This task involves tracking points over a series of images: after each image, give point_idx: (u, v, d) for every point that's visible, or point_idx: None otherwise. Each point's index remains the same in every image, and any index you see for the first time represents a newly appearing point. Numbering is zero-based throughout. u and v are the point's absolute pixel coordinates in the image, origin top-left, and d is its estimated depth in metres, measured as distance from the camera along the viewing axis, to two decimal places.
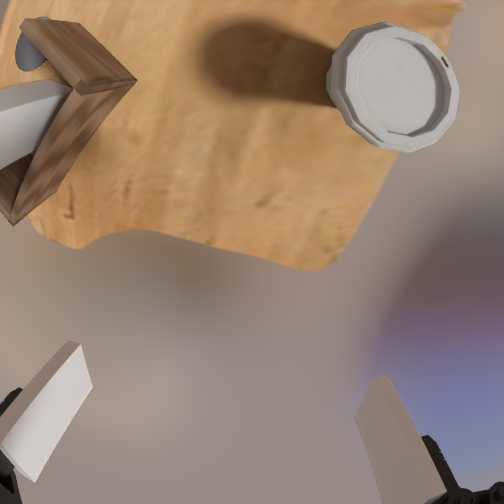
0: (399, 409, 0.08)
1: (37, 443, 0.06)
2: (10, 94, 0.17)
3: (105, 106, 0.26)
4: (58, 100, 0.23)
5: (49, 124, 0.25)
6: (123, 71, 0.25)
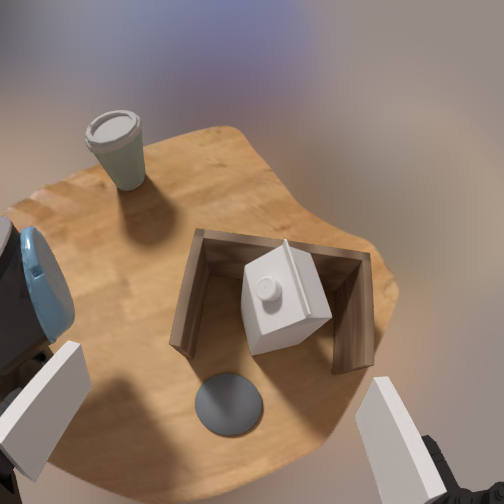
0: (399, 409, 0.08)
1: (37, 443, 0.06)
2: (250, 318, 0.30)
3: None
4: None
5: None
6: None
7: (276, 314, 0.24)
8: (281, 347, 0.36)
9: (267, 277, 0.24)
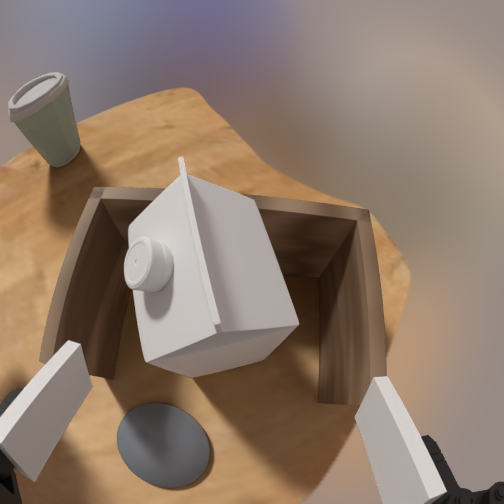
0: (399, 409, 0.08)
1: (37, 443, 0.06)
2: None
3: None
4: None
5: None
6: None
7: (164, 321, 0.10)
8: (234, 367, 0.23)
9: (141, 238, 0.11)
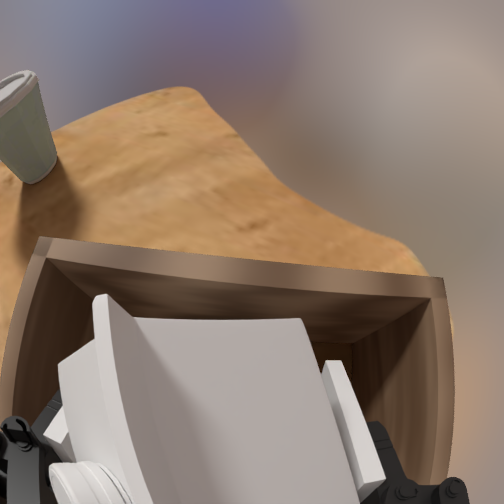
0: (346, 391, 0.09)
1: None
2: None
3: None
4: None
5: None
6: None
7: None
8: None
9: (61, 479, 0.03)
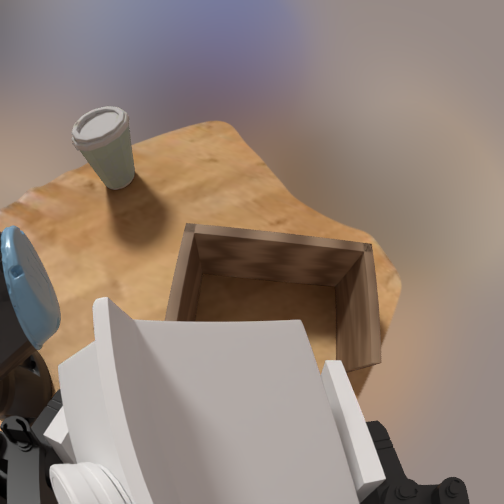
0: (346, 391, 0.09)
1: None
2: None
3: None
4: None
5: None
6: None
7: None
8: None
9: (61, 481, 0.03)
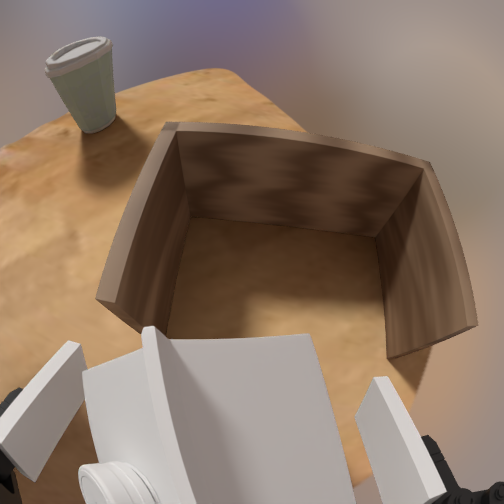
0: (399, 409, 0.08)
1: (37, 443, 0.06)
2: None
3: None
4: None
5: None
6: None
7: None
8: None
9: (95, 479, 0.03)
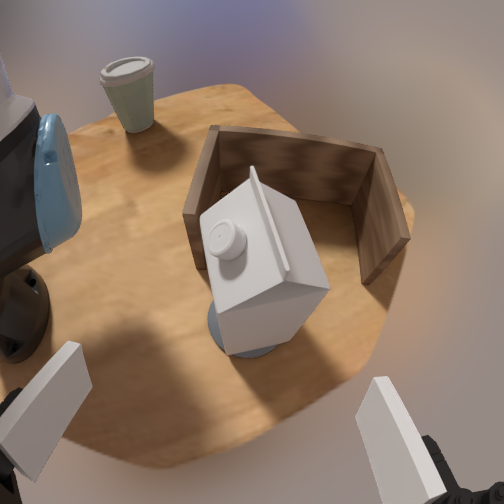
0: (399, 409, 0.08)
1: (37, 443, 0.06)
2: None
3: None
4: None
5: None
6: None
7: (238, 279, 0.15)
8: (265, 344, 0.27)
9: (223, 220, 0.16)
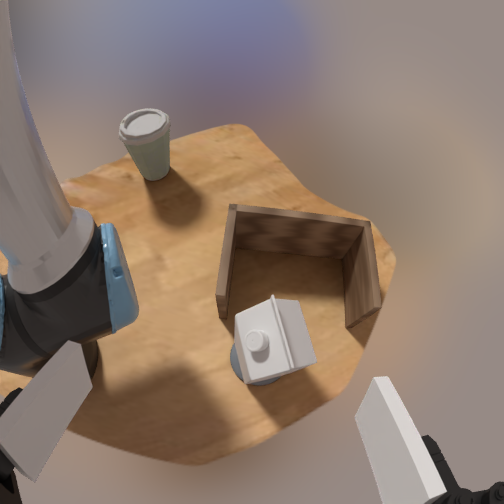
0: (399, 409, 0.08)
1: (37, 443, 0.06)
2: (242, 358, 0.31)
3: None
4: None
5: None
6: None
7: (264, 363, 0.25)
8: (273, 377, 0.37)
9: (255, 330, 0.25)
